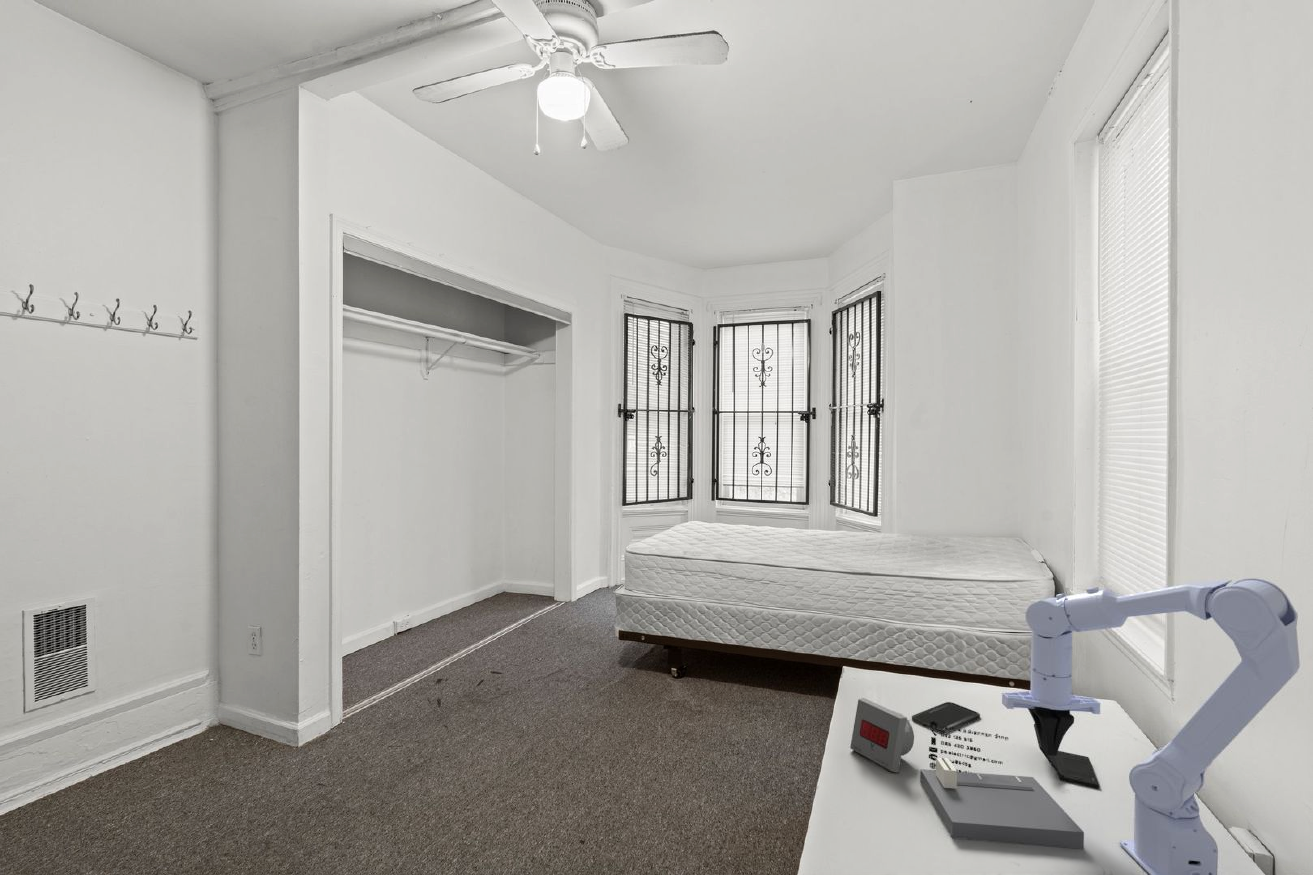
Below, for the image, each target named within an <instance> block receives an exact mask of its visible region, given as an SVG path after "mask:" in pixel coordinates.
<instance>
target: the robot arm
mask: <svg viewBox="0 0 1313 875" xmlns="http://www.w3.org/2000/svg"><path fill="white" fill-rule="evenodd" d="M1232 581H1233V580H1232V579H1225V580H1224V579H1220V580H1209V581H1197V582H1189V583H1183V584H1178V585H1172V586H1169V587H1163V588H1158V589H1157V588H1156V589H1151V590H1146V591H1140V592H1136V593H1135V592H1134V593H1130V594H1126V595H1119V594H1118V593H1115V592H1114V591H1111V590H1109V589H1100V588H1099V586H1093V587H1090V588H1086V592H1082V593H1077V594H1076V593H1075V594H1070V595H1066V593H1059V594H1056V595H1055V597H1049V598H1046V599H1045V598H1044V599H1042V600H1041V599H1040V600H1038V601H1035V602H1033V603H1031V604H1030V605H1029V606H1028V607H1027V609H1026V612H1025V620H1026V622H1027V623H1026V624H1027V625H1028V627H1029V628H1030V629H1031V643H1030V644H1031V646H1030V647H1031V648H1030V649H1031V650H1030V652H1031V654H1030V690H1024V691H1015V692H1002V693H1001V704H1002V705H1003V706H1004V707H1005V708H1006V709H1009V710H1014V708H1017V709H1018V708H1019V709H1027V710H1028V711H1029V713H1030V716H1031V718H1032V720H1033V722H1034V724H1035V725H1036V727H1037V730H1038V733H1039V737H1040V741H1041V746H1042V750H1043V751H1044V752H1045V753H1046V754H1047V755H1052V756H1057V752H1058V751H1059V749H1060V745H1061V744H1062V742H1063V739H1064V737H1065V735H1066V734H1067V732H1068V730H1069V729H1070V728H1071V727H1072V726H1073V725H1074V723H1075V716H1074V715H1072V714H1071V712H1085V713H1088V712H1089V713H1091V714H1093V715H1100V714H1101V702H1100V701H1098V700H1097V699H1095V698H1094V697H1089V696H1082V695H1081V696H1080V695H1074V694H1072V682H1073V681H1072V678H1073V676H1072V674H1073V673H1072V671H1073V668H1072V667H1073V633H1074V632H1075V633H1083V632H1089V631H1097V630H1106V629H1116V628H1121V627H1122V626H1124V624H1125V623H1126V621H1127V619H1128V618H1129V617H1140V616H1148V615H1149V616H1150V615H1159V614H1160V615H1161V614H1167V613H1168V614H1169V613H1179V612H1187V613H1189V614H1191V615H1193V616H1194V617H1196V618H1199V619H1201V620H1203V621H1208V620H1210V619H1211V618H1212V619H1213V621H1214V622H1215V623H1216V624H1217V625H1218V627H1219V628H1220V629H1221V630H1222V631H1223V632H1224V633H1225V634H1226V635H1227V636H1228V637H1229V638H1230V640H1231V641H1232V642H1233V643H1234V645H1235V648H1236V650H1237V652H1238V654H1239V656H1240V658H1241V662H1239V663H1238V665H1237V666H1235V668H1233V670H1232V671H1231V673H1230V674H1229V675H1228V676H1227V677H1226V678H1225V679H1224V680H1223V682H1222V683H1221V684H1220V685H1219V686H1218V687H1217V688H1216V690H1214V691H1213V693H1212V694H1211V695H1210V696H1209V697H1208V699H1207V700H1205V702H1204V703H1203V704H1202V705H1201V706H1200V707H1199V709H1197V710H1196V712H1195V713H1194V714H1193V715H1192V716H1191V717H1190V719H1189V720H1188V721H1187V722H1186V723H1185V724H1184V725H1183V727H1182V728H1181V729H1180V730H1179V731H1178V732H1177V733H1176V735H1174V737H1173V738H1172V739H1171V740H1170V741H1168V743H1167V744H1166V745H1165V746H1164V747H1160V748H1158V749H1156V750H1155V751H1154V752H1153V753H1151V755H1150V756H1148V757H1147V758H1146V759H1144V761H1142V762H1141V763H1138V764H1136V765H1135V766H1133V767H1132V768H1131V769H1130V772H1129V774H1128V775H1129V776H1128V779H1129V784H1130V785H1129V786H1130V787H1131V790H1132V791H1133V793H1134V814H1133V816H1134V818H1133V840H1126V839H1124V840H1123V839H1120V840H1119V841H1118V843H1119V845H1120V846H1121V847H1122V848H1123V849H1124V850H1125V851H1126V852H1127V853H1128V854H1129V855H1130V856H1131V858H1133V859H1134V860H1135V861H1136V862H1137V863H1138V865H1139V866H1141V867H1142V868H1143V870H1145V872H1147V873H1148V875H1218V867H1219V866H1218V862H1219V860H1218V859H1219V858H1218V857H1219V855H1218V854H1219V849H1218V844H1217V842H1216V840H1215V838H1214V837H1213V836H1212V835H1211V834H1210V833H1209V831H1208V830H1207V829H1206V828H1205V826H1204V824H1203V822H1202V820H1201V816H1200V807H1199V805H1198V801H1197V799H1196V797H1195V793H1197V792H1199V791H1200V790H1201V789H1202V788H1203V786H1204V784H1205V773H1206V771H1207V770H1208V768H1209V767H1210V766H1211V765H1212V763H1213V762H1214V761H1215V759H1217V758H1218V757H1219V756H1220V754H1221V753H1222V752H1223V751H1224V750H1225V749H1226V748H1227V747H1228V746H1229V745H1230V744H1231V743H1232V742H1233V741H1234V740H1235V738H1237V737H1238V735H1239V734H1241V732H1242V731H1243V730H1244V729H1245V728H1246V727H1247V726H1248V725H1249V724H1250V722H1252V721H1253V720H1254V718H1256V716H1257V715H1258V714H1259V713H1260V712H1261V711H1262V710H1264V708H1265V707H1266V706H1267V704H1268V703H1270V702H1271V701H1272V699H1273V698H1274V697H1275V696H1276V695H1277V694H1278V693H1279V692H1280V691H1281V690H1282V689H1283V688H1284V686H1286V685H1287V683H1288V682H1290V680H1291V679H1292V678H1293V677H1294V676H1295V675H1296V674H1297V673H1298V671H1299V669H1300V664H1301V663H1300V652H1299V641H1298V633H1297V632H1298V631H1297V629H1298V628H1297V626H1298V617H1299V616H1298V612H1297V611H1296V609H1295V607H1294V606H1293V604H1292V602H1291V601H1290V599H1289V597H1288V595H1287V594H1286V593H1285V591H1284V590H1283V589H1281V588H1280V587H1279V586H1278V585H1276V584H1275V583H1272V582H1271V581H1268V580H1266V579H1262V578H1255V577H1254V578H1253V577H1249V578H1243V579H1240V580H1237V581H1236V582H1234V583H1233V584H1231V585H1229V583H1232Z"/></svg>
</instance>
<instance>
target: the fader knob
mask: <svg viewBox="0 0 1313 875" xmlns="http://www.w3.org/2000/svg"><path fill="white" fill-rule="evenodd" d="M935 758H936V757H935ZM948 758H949V757H948ZM948 758H947V757H938V758H936V760H935V764H936V767H935V768H936V769H935V770H936V776H937V777H938V779H939V780H940V782H941V784H942V785H943V787H944V788H954V789H957V770H958V769H957V768H955V766H954V765H953V763H952V761H951V762H950V760H951V759H950V758H949V759H948ZM956 769H957V770H956Z"/></svg>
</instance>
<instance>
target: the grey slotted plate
mask: <svg viewBox="0 0 1313 875" xmlns="http://www.w3.org/2000/svg"><path fill="white" fill-rule="evenodd" d="M919 777H920V778H919V784H920V783H921V784H920V786H921V787H922V788H923V790H924V793H925V794H926V795H927V797H928V799H929V801H930V802H931V805H932V806H933V808H934V809H935V812H936V813H937V815H938V816H939V818H940V820H941V821H942V823H943V825H944V827H945V828H946V830H947V832H948V834H949V836H950V837H951V839H959V840H972V841H984V842H994V843H1007V844H1020V845H1032V846H1041V847H1043V846H1045V847H1056V848H1057V847H1058V848H1068V849H1080V850H1084V848H1085V846H1084V845H1085V843H1084V842H1085V832H1084V830H1083V829H1081V827H1080V826H1079V825H1078V824H1077V823H1076V822H1075V821H1074V820H1073V819H1072V817H1070V816H1069V814H1067V811H1065V810H1064V809H1063V808H1062V806H1060V805H1059V803H1057V801H1056V800H1055V799H1054V798H1053V797H1052V796H1051V795H1050V793H1048V792H1047V791H1046V790H1045V788H1044V787H1043V786H1042V785H1041V784H1040V782H1038V781H1037V779H1035V777H1033V776H1020V775H1011V774H1007V775H1006V774H993V773H984V772H983V773H982V772H981V773H980V772H972V773H970V771H969V772H968V771H967V772H965V771H961V772H959V771H958V772H957V789H954V788H944V787H943V785H942V784H941V782H940V780H939V779H938V777H937V776H936V769H925V768H920V774H919Z"/></svg>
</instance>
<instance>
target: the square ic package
mask: <svg viewBox="0 0 1313 875" xmlns="http://www.w3.org/2000/svg"><path fill="white" fill-rule="evenodd" d="M977 719H978V720H980V719H981V714H980V713H979V712H977V711H976V710H972V709H970V708H967V707H966V706H963V705H960V704H958V703H955V702H951V701H947V702H944V703H941V704H939V705H936V706H932V707H931V708H928V709H926V710H922V711H921V712H918V713H915V714H912V716H911V721H912V722H914V723H915V724H917V723H918V724H917V725H920V726H923V727H925V728H926V729H929V728H930V729H929V730H930V731H931V730H932V729H933V730H934V731H933V732H934V733H938V732H939V733H938V734H941V733H944V735H945V733H946V734H948V733H947V732H949V733H951V732H953V731H954V728H955V730H958V729H961V728H962V727H964V726H966V724H967V725H969V724H971V723H973V722H976V721H978V720H977ZM975 720H976V721H975ZM933 721H934V722H935V723H936V724H938V725H937V728H935V726H934V725H933V727H930V723H931V722H933ZM968 723H969V724H968ZM941 725H942V728H941ZM945 725H946V726H947V729H945ZM943 727H944V729H943ZM948 727H949V729H950V727H951V730H948ZM952 727H953V730H952ZM957 728H958V729H957Z"/></svg>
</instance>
